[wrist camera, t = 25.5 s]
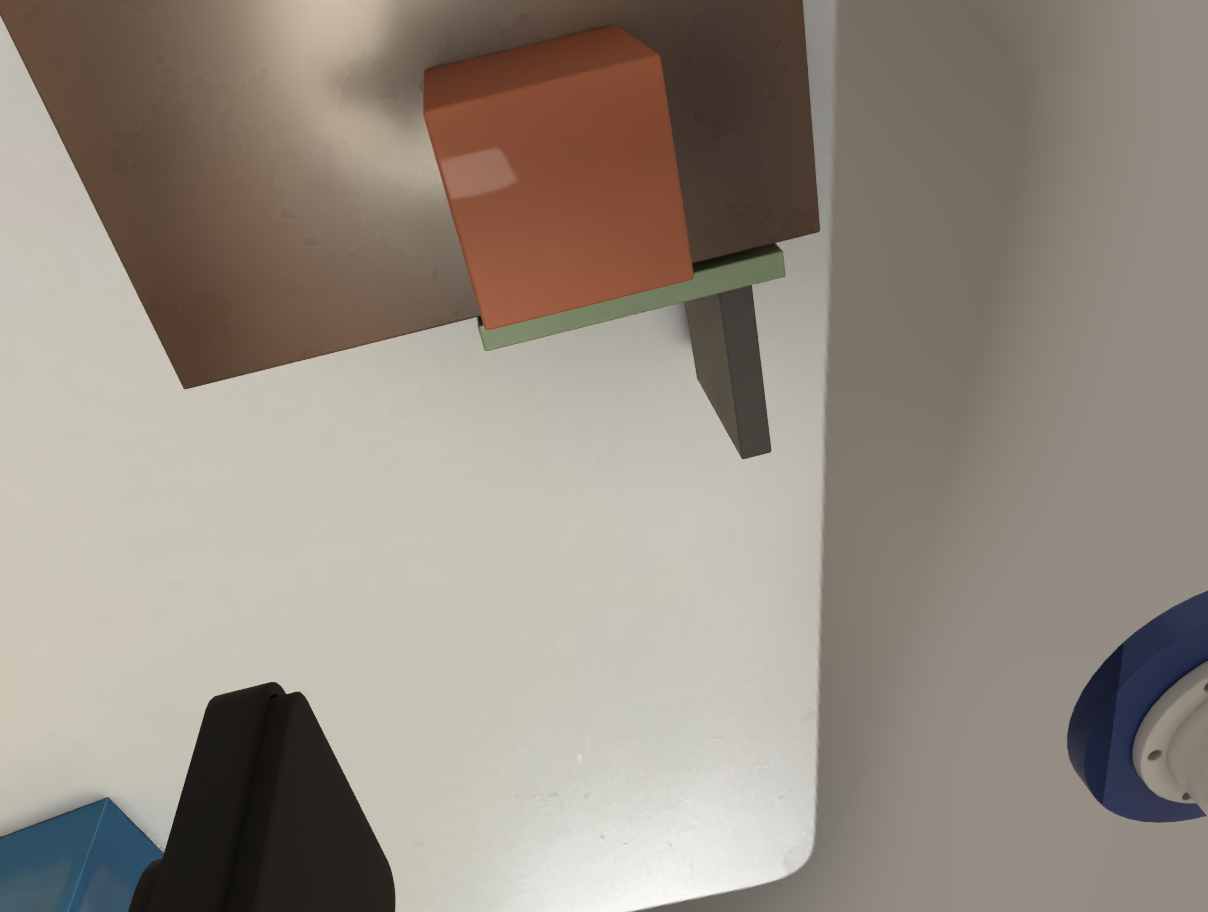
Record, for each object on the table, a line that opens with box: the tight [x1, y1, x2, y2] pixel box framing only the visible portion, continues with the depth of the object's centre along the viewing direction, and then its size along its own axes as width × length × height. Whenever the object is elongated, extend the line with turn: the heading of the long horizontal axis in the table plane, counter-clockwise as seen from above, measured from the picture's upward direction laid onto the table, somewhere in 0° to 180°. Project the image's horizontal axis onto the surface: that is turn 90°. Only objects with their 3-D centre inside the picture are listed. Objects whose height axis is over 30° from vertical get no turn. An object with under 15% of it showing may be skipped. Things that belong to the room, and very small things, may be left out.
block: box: [423, 25, 694, 330], centre depth 22 cm, size 5×5×5 cm
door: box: [477, 243, 785, 459], centre depth 32 cm, size 9×7×9 cm
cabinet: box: [0, 0, 820, 389], centre depth 27 cm, size 18×10×9 cm, turn 101°
